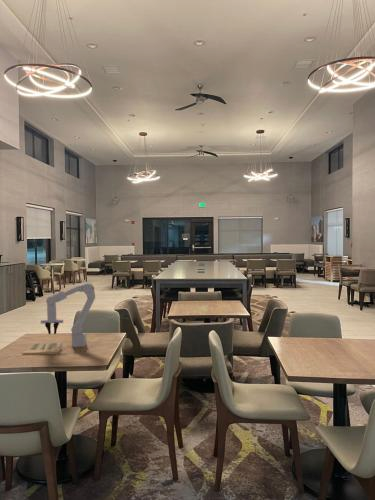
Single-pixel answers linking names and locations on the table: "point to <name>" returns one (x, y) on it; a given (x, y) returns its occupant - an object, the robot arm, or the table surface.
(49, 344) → the plank
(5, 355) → the table surface
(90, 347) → the table surface
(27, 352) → the floor base
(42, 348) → the plank
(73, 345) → the robot arm
